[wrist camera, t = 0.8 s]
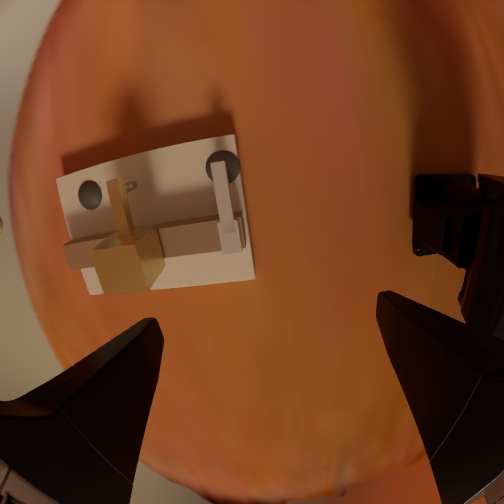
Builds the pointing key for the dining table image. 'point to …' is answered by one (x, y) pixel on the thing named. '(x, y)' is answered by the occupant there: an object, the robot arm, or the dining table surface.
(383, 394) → the dining table surface
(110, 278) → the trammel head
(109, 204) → the gauge board
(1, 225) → the grandmother figurine
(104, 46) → the dining table surface
